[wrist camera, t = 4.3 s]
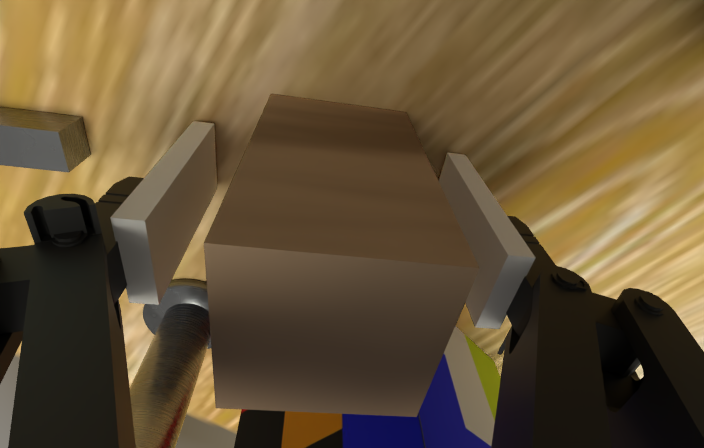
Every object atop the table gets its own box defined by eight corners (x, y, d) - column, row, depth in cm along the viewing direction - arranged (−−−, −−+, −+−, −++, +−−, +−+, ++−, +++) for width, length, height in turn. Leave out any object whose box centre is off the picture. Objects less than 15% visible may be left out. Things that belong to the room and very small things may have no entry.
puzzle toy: (390, 265, 19) (435, 501, 11) (493, 360, 24) (580, 579, 15) (252, 357, 22) (205, 590, 14) (364, 425, 27) (378, 633, 19)
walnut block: (271, 93, 14) (203, 243, 7) (405, 111, 15) (479, 267, 7) (267, 210, 17) (215, 408, 10) (380, 222, 18) (416, 417, 10)
